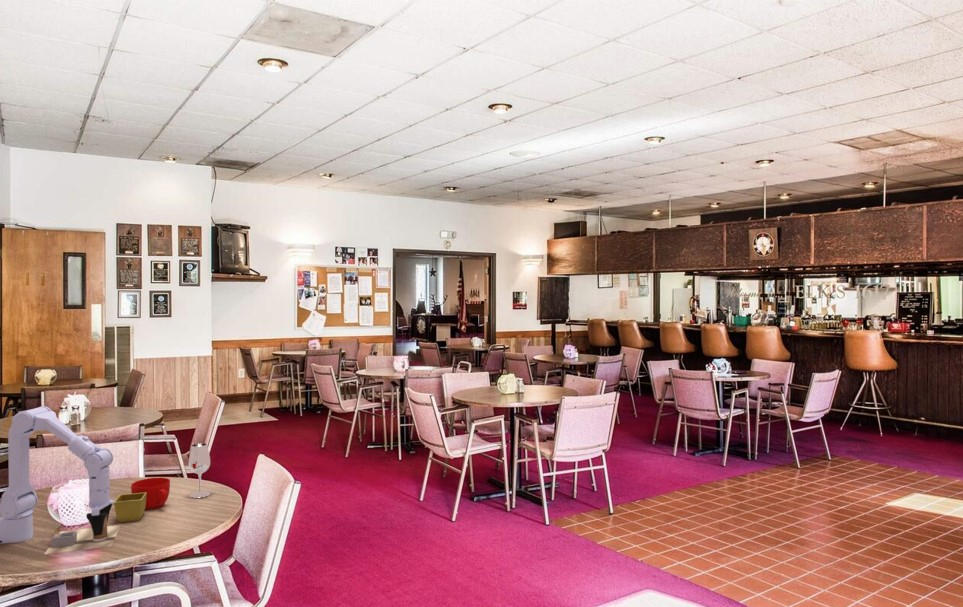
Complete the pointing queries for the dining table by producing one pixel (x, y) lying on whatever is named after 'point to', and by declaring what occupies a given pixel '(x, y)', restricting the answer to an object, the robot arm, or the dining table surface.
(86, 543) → the board
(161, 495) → the ceramic cup
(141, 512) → the flower pot
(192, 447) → the wineglass
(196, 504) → the dining table surface
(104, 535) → the brown cylinder
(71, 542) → the box
